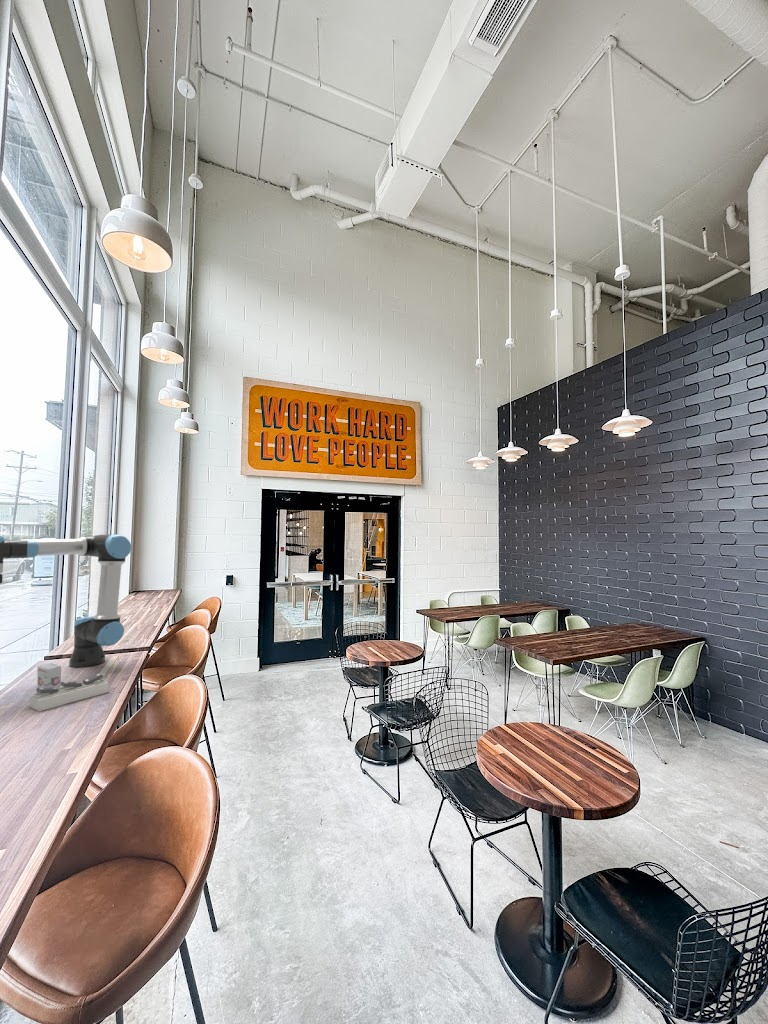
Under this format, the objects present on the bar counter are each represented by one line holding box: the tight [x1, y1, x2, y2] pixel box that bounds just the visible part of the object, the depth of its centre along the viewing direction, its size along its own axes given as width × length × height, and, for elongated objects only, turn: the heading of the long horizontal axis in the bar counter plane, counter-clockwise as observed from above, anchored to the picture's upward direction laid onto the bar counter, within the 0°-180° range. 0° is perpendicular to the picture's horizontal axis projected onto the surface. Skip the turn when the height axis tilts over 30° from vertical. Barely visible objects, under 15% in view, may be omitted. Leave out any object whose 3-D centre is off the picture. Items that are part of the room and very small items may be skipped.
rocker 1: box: [35, 687, 59, 693], centre depth 169 cm, size 6×4×1 cm, turn 147°
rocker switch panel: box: [29, 678, 109, 712], centre depth 176 cm, size 24×8×5 cm, turn 147°
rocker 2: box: [61, 681, 82, 687], centre depth 176 cm, size 6×4×1 cm, turn 147°
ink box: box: [36, 662, 62, 694], centre depth 180 cm, size 9×5×12 cm, turn 62°
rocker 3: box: [82, 672, 104, 685], centre depth 183 cm, size 6×4×1 cm, turn 147°
